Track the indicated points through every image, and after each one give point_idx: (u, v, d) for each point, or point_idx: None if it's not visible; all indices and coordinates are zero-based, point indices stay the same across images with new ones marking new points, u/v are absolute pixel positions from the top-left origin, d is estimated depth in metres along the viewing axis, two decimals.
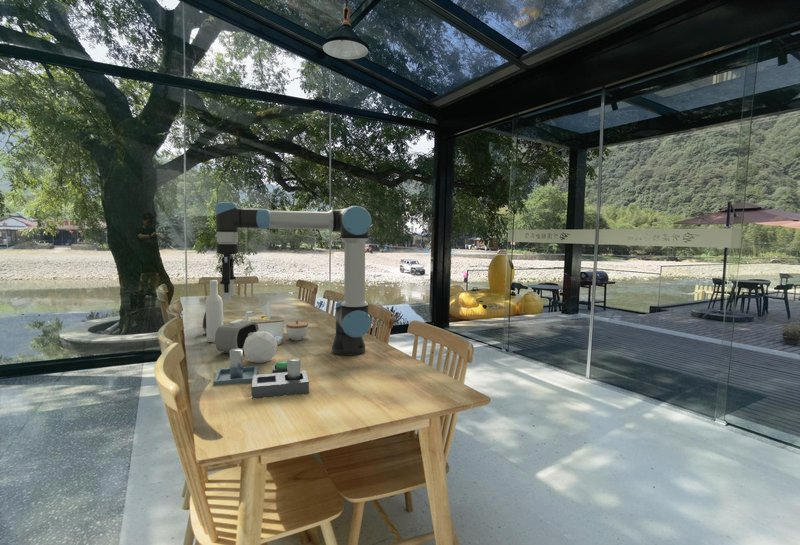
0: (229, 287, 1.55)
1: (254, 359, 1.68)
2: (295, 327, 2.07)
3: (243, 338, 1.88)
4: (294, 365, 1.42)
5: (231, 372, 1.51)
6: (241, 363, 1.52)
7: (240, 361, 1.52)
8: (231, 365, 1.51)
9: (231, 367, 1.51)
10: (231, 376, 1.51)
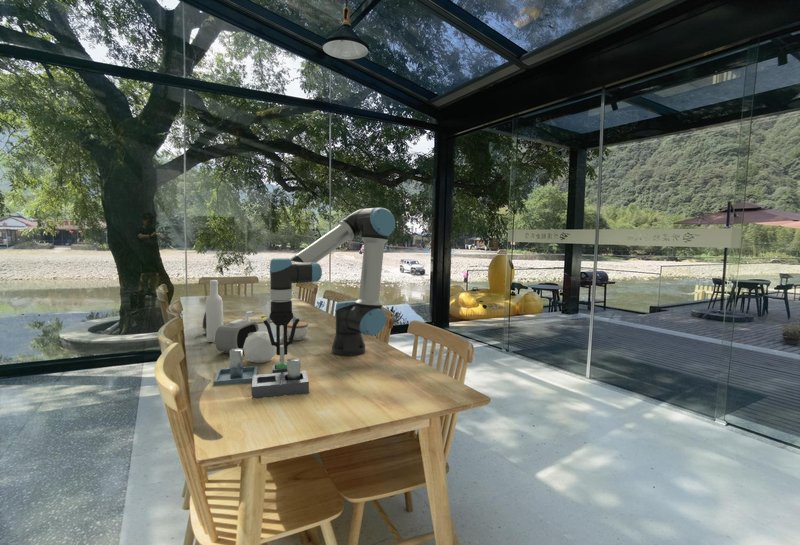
0: (279, 350, 1.54)
1: (254, 359, 1.68)
2: None
3: (243, 338, 1.88)
4: (294, 365, 1.42)
5: (231, 372, 1.51)
6: (241, 363, 1.52)
7: (240, 361, 1.52)
8: (231, 365, 1.51)
9: (231, 367, 1.51)
10: (231, 376, 1.51)
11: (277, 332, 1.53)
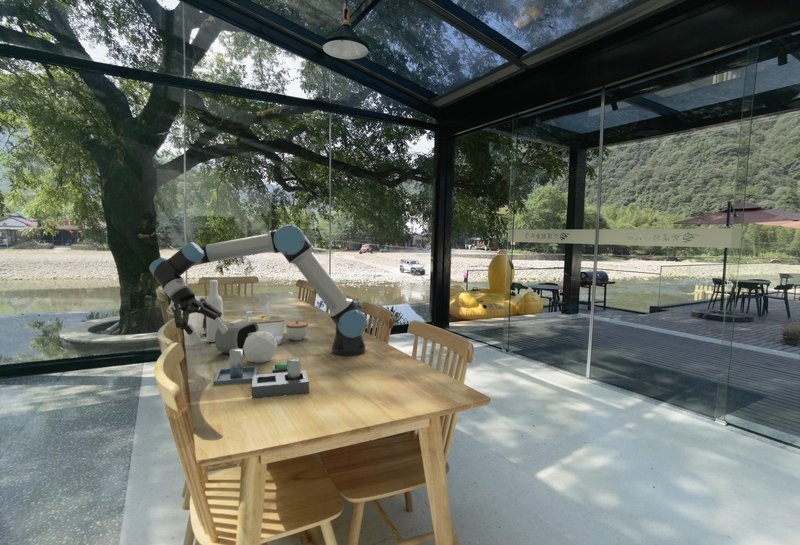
0: None
1: (254, 359, 1.68)
2: (295, 327, 2.07)
3: (243, 338, 1.88)
4: (294, 365, 1.42)
5: (231, 372, 1.51)
6: (241, 363, 1.52)
7: (240, 361, 1.52)
8: (231, 365, 1.51)
9: (231, 367, 1.51)
10: (231, 376, 1.51)
11: None
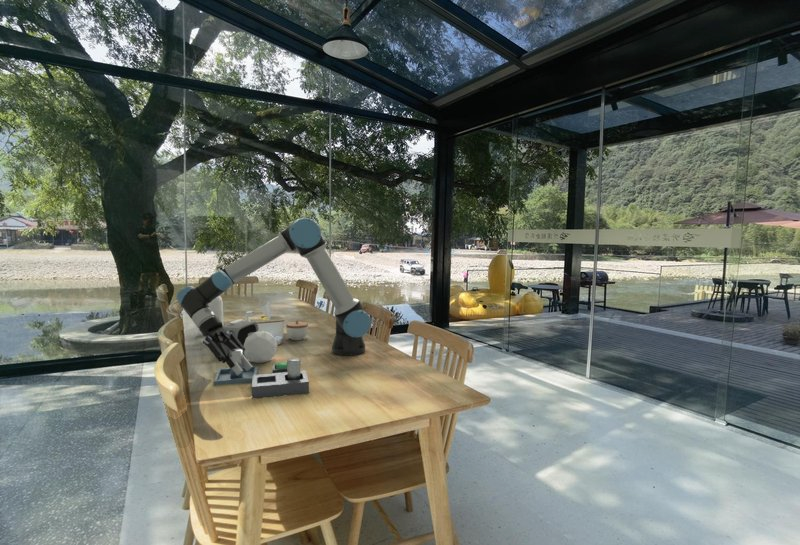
0: None
1: (254, 359, 1.68)
2: (295, 327, 2.07)
3: (243, 338, 1.88)
4: (294, 365, 1.42)
5: (231, 372, 1.51)
6: (241, 363, 1.52)
7: (240, 361, 1.52)
8: None
9: None
10: (231, 376, 1.51)
11: None
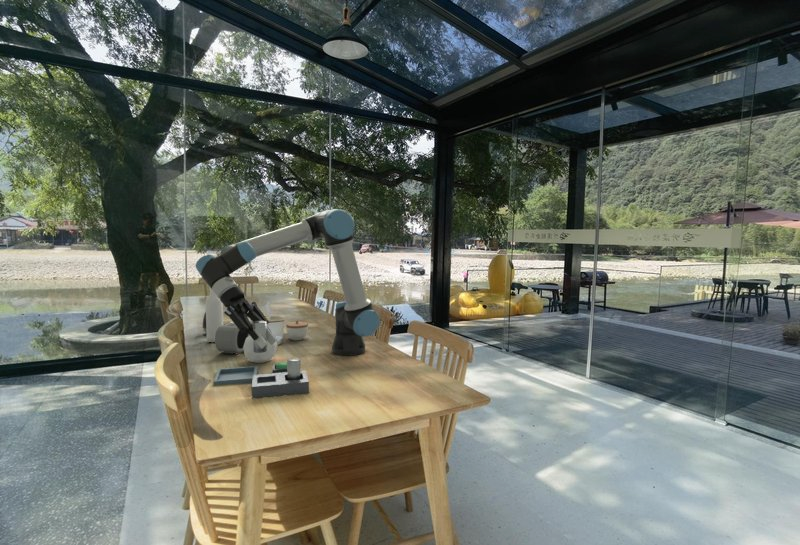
0: None
1: (254, 359, 1.68)
2: (295, 327, 2.07)
3: (243, 338, 1.88)
4: (294, 365, 1.42)
5: (254, 345, 1.41)
6: (265, 336, 1.41)
7: (264, 333, 1.41)
8: None
9: (254, 340, 1.40)
10: (254, 350, 1.41)
11: None
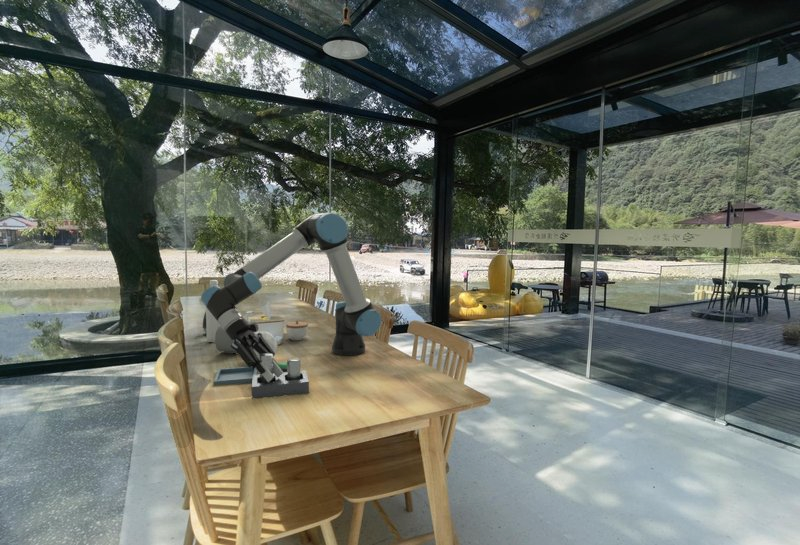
0: None
1: None
2: (295, 327, 2.07)
3: None
4: (294, 365, 1.42)
5: (260, 379, 1.40)
6: (271, 369, 1.41)
7: (270, 367, 1.40)
8: None
9: None
10: None
11: None
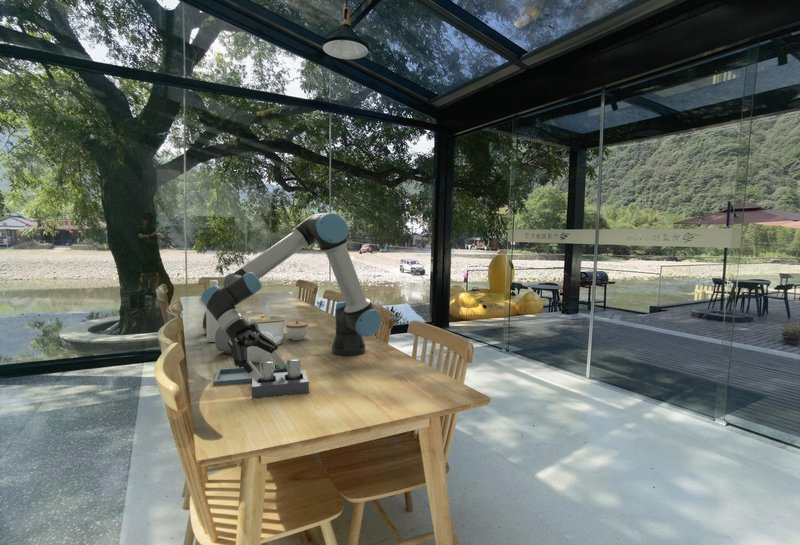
0: None
1: (254, 359, 1.68)
2: (295, 327, 2.07)
3: None
4: (294, 365, 1.42)
5: None
6: (272, 376, 1.41)
7: (271, 374, 1.41)
8: (261, 378, 1.40)
9: (261, 380, 1.40)
10: None
11: None
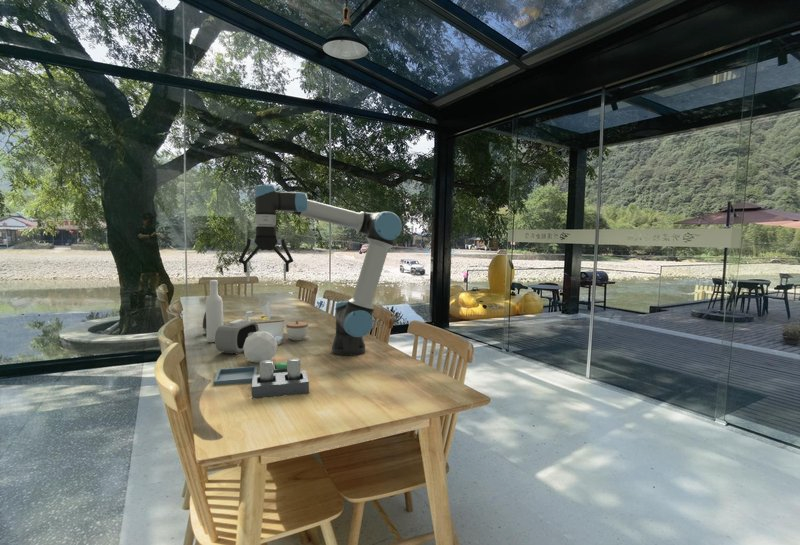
0: None
1: (254, 359, 1.68)
2: (295, 327, 2.07)
3: (243, 338, 1.88)
4: (294, 365, 1.42)
5: None
6: (272, 376, 1.41)
7: (271, 374, 1.41)
8: (261, 378, 1.40)
9: (261, 380, 1.40)
10: None
11: None
